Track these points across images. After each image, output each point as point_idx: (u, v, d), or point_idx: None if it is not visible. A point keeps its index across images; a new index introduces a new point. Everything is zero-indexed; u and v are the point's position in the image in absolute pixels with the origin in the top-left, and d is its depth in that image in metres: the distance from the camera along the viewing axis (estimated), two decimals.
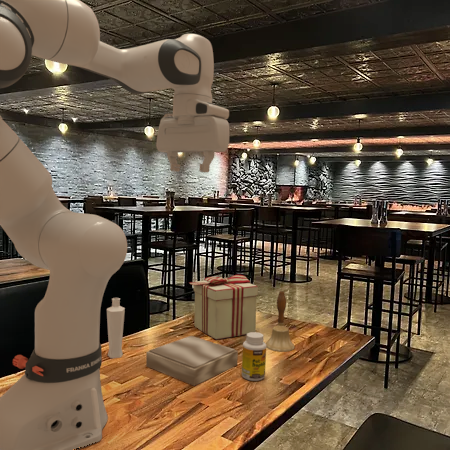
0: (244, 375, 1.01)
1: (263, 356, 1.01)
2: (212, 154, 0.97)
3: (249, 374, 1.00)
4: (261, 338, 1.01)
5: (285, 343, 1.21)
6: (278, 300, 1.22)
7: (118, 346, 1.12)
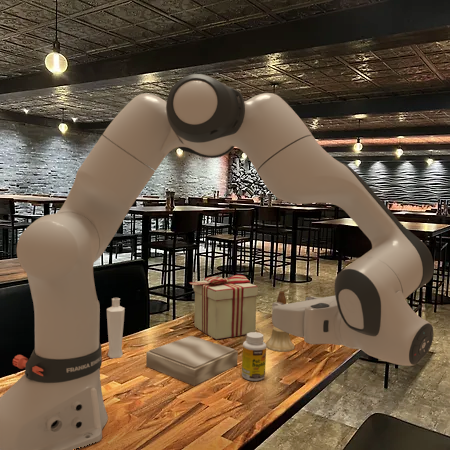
0: (244, 375, 1.01)
1: (263, 356, 1.01)
2: None
3: (249, 374, 1.00)
4: (261, 338, 1.01)
5: (285, 343, 1.21)
6: (278, 300, 1.22)
7: (118, 346, 1.12)
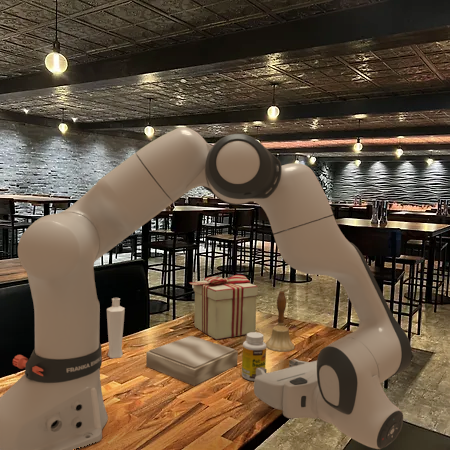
0: (244, 375, 1.01)
1: (263, 356, 1.01)
2: None
3: (249, 374, 1.00)
4: (261, 338, 1.01)
5: (285, 343, 1.21)
6: (278, 300, 1.22)
7: (118, 346, 1.12)
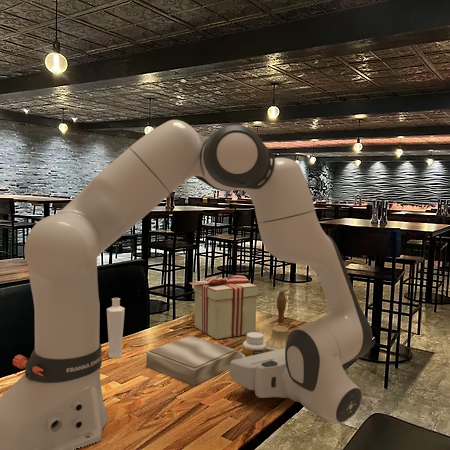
0: None
1: None
2: None
3: None
4: (261, 338, 1.01)
5: (285, 343, 1.21)
6: (278, 300, 1.22)
7: (118, 346, 1.12)
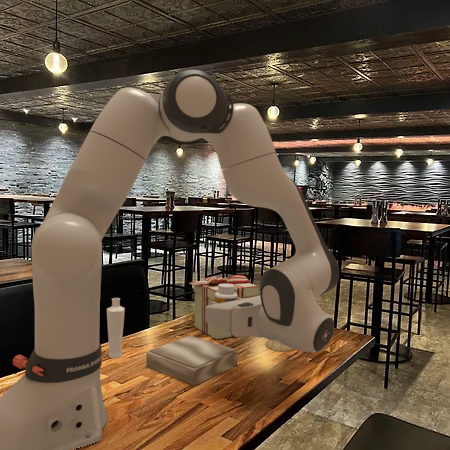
0: None
1: None
2: None
3: None
4: (233, 288, 1.03)
5: None
6: None
7: (118, 346, 1.12)
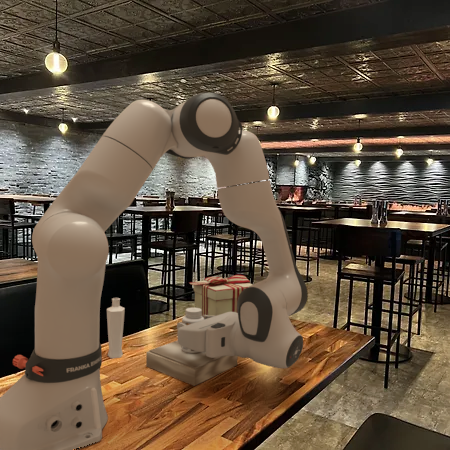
0: (185, 349, 1.06)
1: None
2: None
3: None
4: (200, 312, 1.06)
5: None
6: None
7: (118, 346, 1.12)
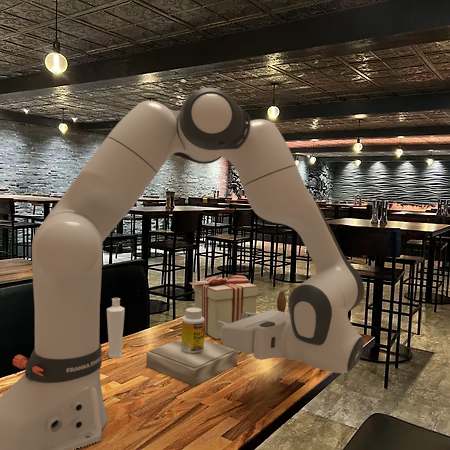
0: (185, 349, 1.06)
1: (203, 329, 1.06)
2: None
3: (190, 347, 1.05)
4: (200, 312, 1.06)
5: None
6: (278, 300, 1.22)
7: (118, 346, 1.12)
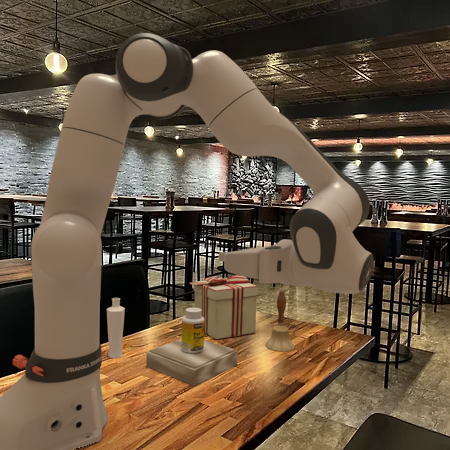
0: (185, 349, 1.06)
1: (203, 329, 1.06)
2: None
3: (190, 347, 1.05)
4: (200, 312, 1.06)
5: (285, 343, 1.21)
6: (278, 300, 1.22)
7: (118, 346, 1.12)
